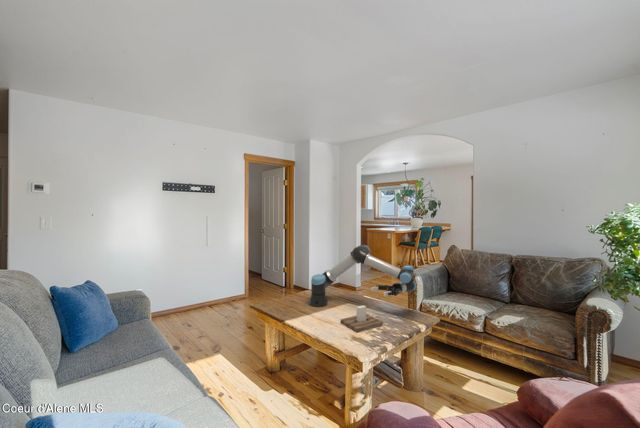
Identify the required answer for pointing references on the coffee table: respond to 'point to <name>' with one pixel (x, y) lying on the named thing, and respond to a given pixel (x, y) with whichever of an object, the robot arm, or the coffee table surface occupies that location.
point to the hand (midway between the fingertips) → (377, 291)
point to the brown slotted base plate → (358, 327)
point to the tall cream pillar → (361, 314)
